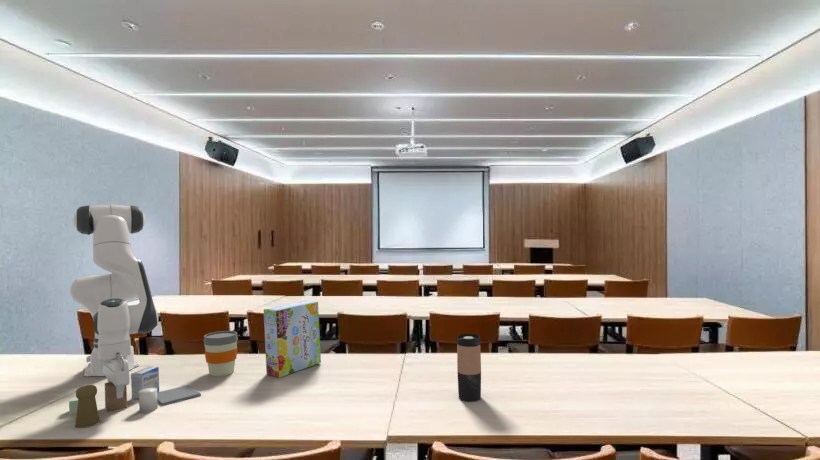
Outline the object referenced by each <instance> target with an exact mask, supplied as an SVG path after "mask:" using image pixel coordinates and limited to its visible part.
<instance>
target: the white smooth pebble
mask: <svg viewBox="0 0 820 460" xmlns="http://www.w3.org/2000/svg"><path fill="white" fill-rule="evenodd" d="M138 406H139V409H138V410H139V412H140V413H142V414H143V413H145V414H146V413H151V412H154V411H156V410H157V409H158V401H157V388H146V389H143V390H140V391H139V399H138Z"/></svg>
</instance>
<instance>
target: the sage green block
mask: <svg viewBox="0 0 820 460" xmlns="http://www.w3.org/2000/svg"><path fill="white" fill-rule="evenodd" d="M77 406H78V398H77V397H76V396H73V397H71V399H70V400H69V401H68V408H69V409H68V410H69V411H68V412H69V415H73V414H77Z"/></svg>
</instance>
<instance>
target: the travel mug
mask: <svg viewBox="0 0 820 460" xmlns="http://www.w3.org/2000/svg"><path fill="white" fill-rule="evenodd" d="M456 345H457V347H456V352H457V353H456V358H457V360H456V362H457V364H456V365H457V372H456V373H457V385H458V386H457V389H458V399H459V400H461V401H463V402H468V403H469V402H471V403H473V402H477V401H480V400H481V397H482V356H481V355H482V353H481V350H482V349H481V336H480V335H479V334H475V333H462V334H458V335H457V337H456Z"/></svg>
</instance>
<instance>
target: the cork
mask: <svg viewBox="0 0 820 460" xmlns="http://www.w3.org/2000/svg"><path fill="white" fill-rule="evenodd" d="M97 394H98V388H97V386H96V385H93V384H87V385H83V386H80V387H78V388H77V389H76V391H75V397H77V398H78V406H77V413H75V416H76V417H75V422H74V423H75V424H74V427H75V428H76V429H84V428H85V429H86V428H89V427H92V426H95V425H97V424H99V423H100V422H101V420H100V414H99V411H98V410H99V409H98V404H97V399H96V395H97Z"/></svg>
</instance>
